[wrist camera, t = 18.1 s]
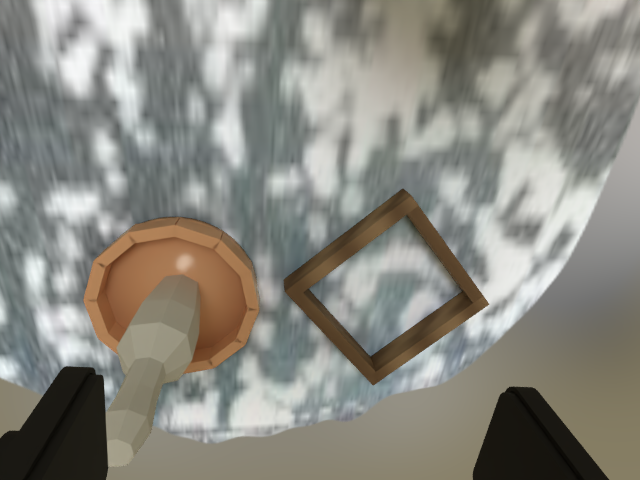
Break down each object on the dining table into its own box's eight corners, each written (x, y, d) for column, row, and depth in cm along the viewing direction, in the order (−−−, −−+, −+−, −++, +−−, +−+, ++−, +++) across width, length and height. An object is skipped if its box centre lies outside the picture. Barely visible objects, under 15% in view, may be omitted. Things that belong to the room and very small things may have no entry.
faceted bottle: (145, 313, 49) (57, 485, 28) (153, 261, 47) (65, 406, 26) (203, 322, 50) (159, 494, 30) (213, 272, 48) (174, 420, 28)
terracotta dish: (182, 184, 45) (175, 192, 42) (288, 296, 51) (289, 311, 48) (63, 282, 48) (48, 298, 44) (178, 379, 53) (172, 399, 50)
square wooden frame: (402, 188, 48) (411, 195, 45) (477, 292, 54) (489, 304, 51) (283, 279, 50) (284, 291, 48) (367, 370, 56) (373, 385, 53)
